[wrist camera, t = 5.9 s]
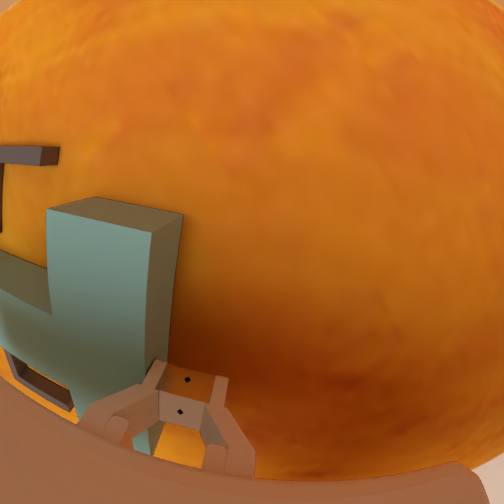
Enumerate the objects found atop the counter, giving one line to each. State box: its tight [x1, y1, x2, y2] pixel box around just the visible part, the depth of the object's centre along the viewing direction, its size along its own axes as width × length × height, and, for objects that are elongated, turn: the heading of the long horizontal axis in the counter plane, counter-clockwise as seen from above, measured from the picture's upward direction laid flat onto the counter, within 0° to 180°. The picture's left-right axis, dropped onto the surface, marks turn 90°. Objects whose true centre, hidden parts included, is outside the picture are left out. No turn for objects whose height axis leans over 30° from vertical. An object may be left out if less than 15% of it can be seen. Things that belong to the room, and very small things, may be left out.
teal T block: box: [0, 197, 184, 456], centre depth 10 cm, size 13×12×3 cm
